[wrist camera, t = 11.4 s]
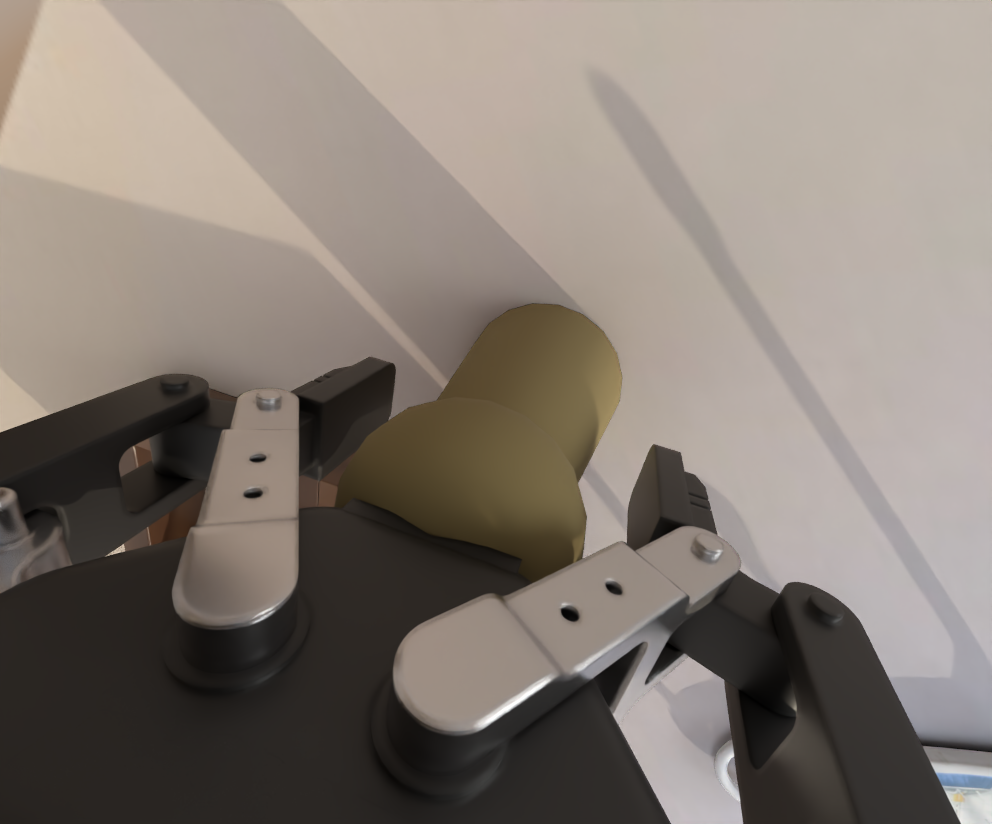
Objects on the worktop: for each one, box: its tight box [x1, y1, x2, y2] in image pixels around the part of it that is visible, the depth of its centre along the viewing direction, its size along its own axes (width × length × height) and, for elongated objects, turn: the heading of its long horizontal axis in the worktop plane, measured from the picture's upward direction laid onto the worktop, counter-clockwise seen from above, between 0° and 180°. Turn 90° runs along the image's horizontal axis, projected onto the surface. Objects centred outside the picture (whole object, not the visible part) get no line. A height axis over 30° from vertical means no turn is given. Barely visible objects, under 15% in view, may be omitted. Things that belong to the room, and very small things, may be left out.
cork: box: [334, 304, 622, 583], centre depth 13 cm, size 6×6×11 cm
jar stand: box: [119, 389, 357, 551], centre depth 22 cm, size 21×11×4 cm, turn 78°
